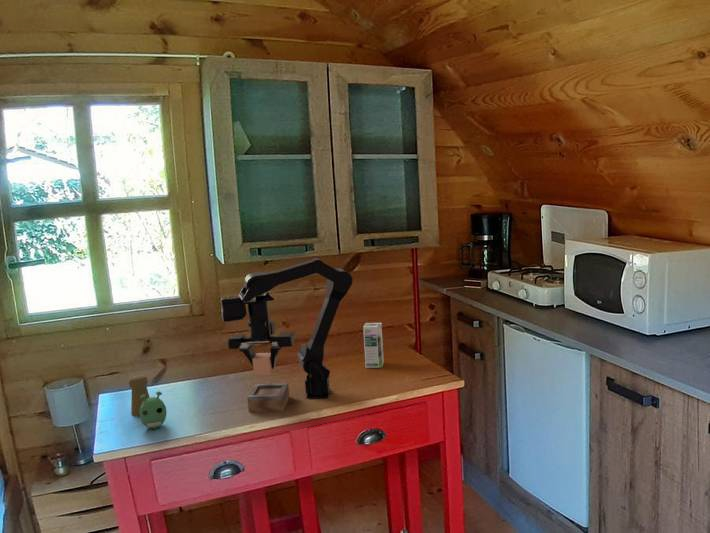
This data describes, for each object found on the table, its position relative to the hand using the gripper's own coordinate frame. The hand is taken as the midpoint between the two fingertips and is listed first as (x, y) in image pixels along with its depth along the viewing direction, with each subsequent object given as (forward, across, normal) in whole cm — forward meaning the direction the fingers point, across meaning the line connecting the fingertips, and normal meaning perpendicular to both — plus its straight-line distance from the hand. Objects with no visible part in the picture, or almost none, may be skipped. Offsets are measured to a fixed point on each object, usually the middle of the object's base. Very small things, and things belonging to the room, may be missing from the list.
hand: (264, 368), depth 174 cm
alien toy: (+10, +28, +16) cm, 34 cm away
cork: (+10, +37, +5) cm, 39 cm away
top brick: (+1, 0, 0) cm, 1 cm away
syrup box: (+12, -29, -32) cm, 44 cm away
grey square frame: (+11, 0, 0) cm, 11 cm away
